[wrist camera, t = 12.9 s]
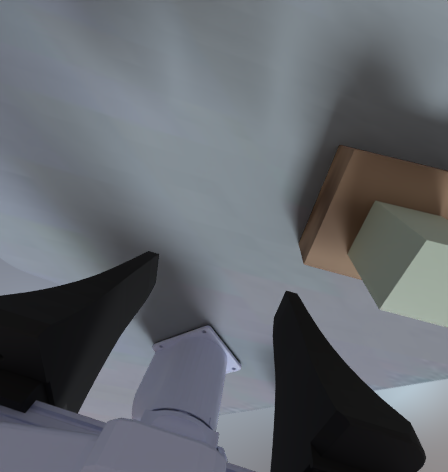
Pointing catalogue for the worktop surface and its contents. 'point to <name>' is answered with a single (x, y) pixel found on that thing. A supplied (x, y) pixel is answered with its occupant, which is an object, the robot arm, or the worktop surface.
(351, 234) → the walnut block
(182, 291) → the worktop surface
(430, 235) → the sage brick
